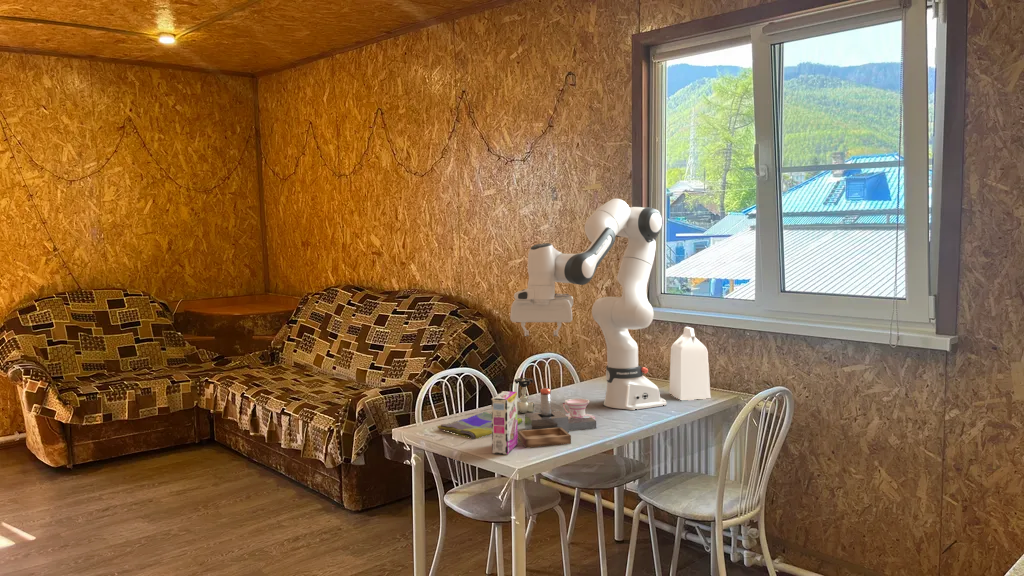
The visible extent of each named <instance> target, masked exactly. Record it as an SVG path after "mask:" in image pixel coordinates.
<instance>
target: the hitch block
mask: <svg viewBox="0 0 1024 576" xmlns="http://www.w3.org/2000/svg"><path fill="white" fill-rule="evenodd" d="M565 414H566V413H564V412H562V411H561V410H551V417H542V418H541V411H540V412H538V411H537V412H534V413H529V412H528V413H524V429H525V430H535V429H547V428H558V427H562V428H563V429H564V430H565V431H566V432H567V433H569V432H572V431H580V430H581V431H582V430H592V429H591V428H594V429H597V420H595V419H593V418H592V417H589V418H577V419H573V418H570V419H568V416H566V415H565ZM569 434H570V433H569Z"/></svg>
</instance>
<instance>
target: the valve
mask: <svg viewBox="0 0 1024 576" xmlns="http://www.w3.org/2000/svg"><path fill="white" fill-rule="evenodd" d="M513 381H514V383H515V384H516V385H517V384H519V386H520V387H521V388H522V389H521V390H520V391H521V396H519V401H517V413H522V414H525V413H535V402H534V401H529V396H527V387H528V386H530V384H531V383H534V379H533V378H531V377H529V378H527V377H523V378H521V377H518V378H517V379H516V378H514V379H513Z"/></svg>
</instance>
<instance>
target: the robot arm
mask: <svg viewBox="0 0 1024 576" xmlns="http://www.w3.org/2000/svg"><path fill="white" fill-rule="evenodd" d="M663 220H664V219H663V217H662V215H661V212H660V211H659V210H658V209H656V208H652V207H648V206H647V207H643V206H642V207H641V206H631V207H630V205H629V204H627V202H626V201H624V200H623V199H621V198H612V199H610V200H607V201H606V202H605V203H604V204H602V205H600V207H597V209H596V210H595V211H594V212H593V213H592V214H591V215H590V216H589V217H588V218H587V220H586V221H585V223H584V232H585V235H586V237H587V239H588V240H589V242H591V243H590V244H589V246H588V247H587V249H586V250H585V251H583V252H579V253H563V252H562V251H560V250H558V249H556V248H555V247H554V246H553V244H552V243H546V242H545V243H537V244H534V245H532V246H531V247H529V251H528V254H527V274H528V281H527V288H525V289H521V290H519V291H516V292H515V293H514V295H513V298H514V301H513V302H512V303H511V306H510V315H509V318H510V321H511V322H512V323H520V327H521V328H522V330H523V331H524V333H523V334H524V337H529V336H530V330H529V329H527V328H526V327H525V326H526V323H557V324H556V326H557V327H556V329H555V330H553V337H559V331H560V329H561V327H562V323H571V322H572V321H573V310H572V307H574V298H573V296H572V295H570V294H569V293H556V283H562V284H574V285H579V286H584V285H587V284H589V282H590V281H592V279H593V278H594V275H595V273H596V270H597V269H598V267H599V265H600V264H601V262H602V261H603V260H604V258H605V257H606V255H607V254H608V253H609V251H610V250H611V249H612V248H613V245H614V244H615V242H616V237H617V238H626V239H627V242H628V244H627V246H626V248H625V249H624V250H625V251H624V253H623V255H622V256H623V257H622V260H621V263H620V265H619V269H618V271H617V277H616V279H617V283H619V285H620V286H621V288H622V292H621V293H622V294H621V296H603V297H600V298H597V299H596V300H595V301H594V302H593V304H592V308H591V315H592V316H591V317H592V318H593V321H595V322H596V323H597V325H598V326H599V327H600V330H601V332H602V334H603V337H604V340H605V344H606V358H607V359H606V360H607V365H606V370H605V379H606V390H605V397H604V402H603V405H604V406H605V407H607V408H613V409H621V410H622V409H623V410H629V411H635V409H637V410H642V409H650V408H655V407H656V408H657V407H664V406H667V404H668V403H667V400H666V399H664V398H662V397H661V395H660V389H659V387H658V386H657V385H656V384H655V383H654V382H653V381H651V380H650V379H649V378H647V377H646V376H644V374H648V372H649V369H648V368H647V367H645V366H644V367H642V366H641V365H639V346H638V343H637V342H636V340H634V339H633V337H632V336H631V334H630V332H629V330H642V329H646V328H648V327H649V326H650V325H651V324H652V322H653V321H654V315H655V313H654V308H653V306H652V304H651V303H650V301H649V299H648V292H647V288H648V283H649V280H650V279H649V278H650V275H651V271H652V268H653V265H654V262H655V261H654V260H655V256H656V249H657V247H656V246H657V244H656V243H657V242H656V239H657V238H658V236H659V234H660V233H661V230H662V228H663V224H664V222H663ZM663 405H664V406H663Z"/></svg>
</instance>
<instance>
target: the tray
mask: <svg viewBox="0 0 1024 576" xmlns="http://www.w3.org/2000/svg"><path fill="white" fill-rule="evenodd" d="M518 439H519V440H518V442H520V443H521V444H522V445H523V446H524V448H526V447H530V448H538V446H540V447H547V446H548V447H551V446H560V445H561V444H562V445H568V444H569V445H570V444H572V435H571V434H570V433H567V432H566V431H565V430H564V429H563V428H562V427H558V428H547V429H535V430H526V429H525V430H524V429H523V430H518Z"/></svg>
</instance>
